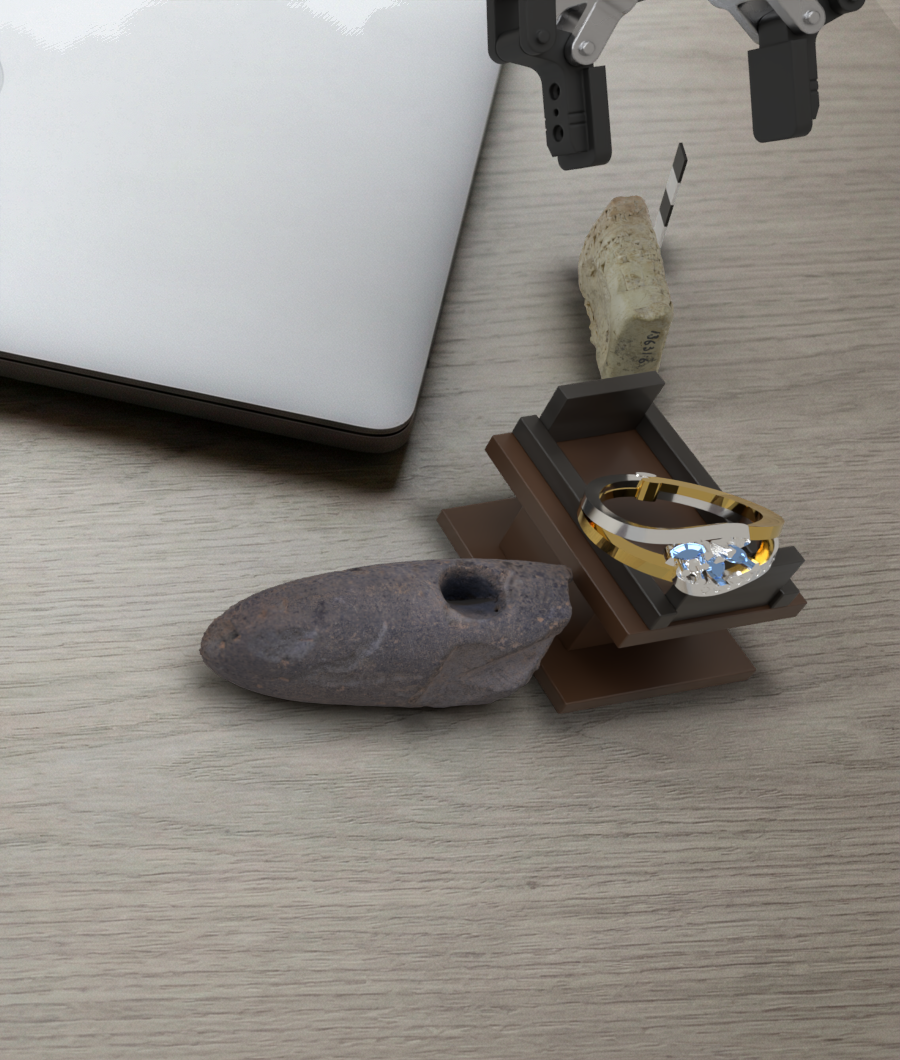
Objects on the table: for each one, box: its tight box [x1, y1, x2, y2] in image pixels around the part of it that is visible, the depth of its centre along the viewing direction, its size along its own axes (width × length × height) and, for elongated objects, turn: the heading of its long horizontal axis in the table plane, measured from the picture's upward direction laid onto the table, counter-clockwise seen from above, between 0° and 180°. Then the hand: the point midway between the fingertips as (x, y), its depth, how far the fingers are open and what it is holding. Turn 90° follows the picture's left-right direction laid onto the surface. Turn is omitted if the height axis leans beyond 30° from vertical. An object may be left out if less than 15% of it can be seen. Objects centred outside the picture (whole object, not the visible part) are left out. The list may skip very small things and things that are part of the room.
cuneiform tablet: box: [577, 142, 689, 379], centre depth 85 cm, size 7×4×12 cm
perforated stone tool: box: [198, 558, 573, 709], centre depth 71 cm, size 15×5×7 cm, turn 89°
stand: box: [435, 371, 808, 715], centre depth 73 cm, size 9×11×9 cm
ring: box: [577, 472, 786, 596], centre depth 68 cm, size 7×3×8 cm
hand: (685, 153), depth 67 cm, fingers open, 8 cm apart
